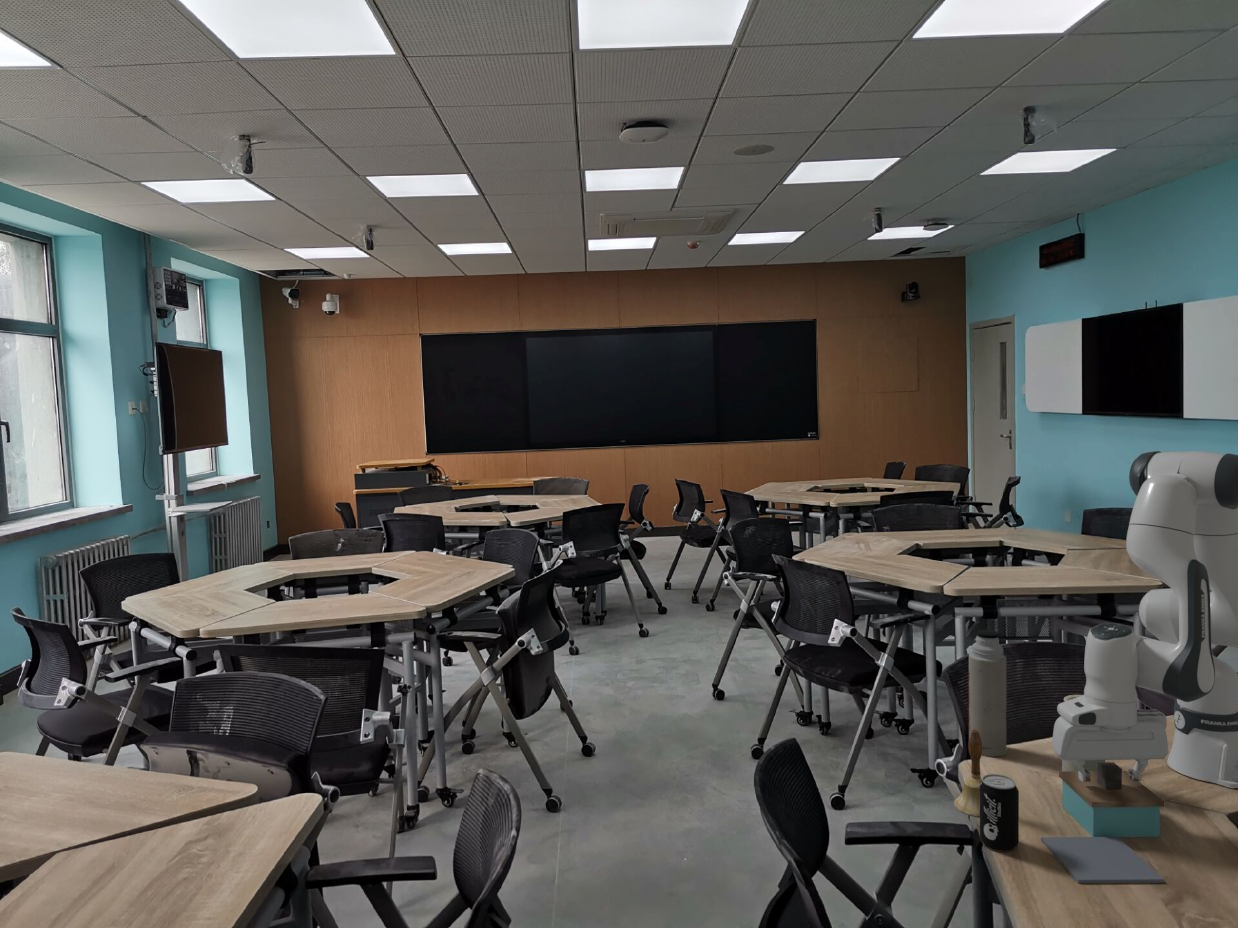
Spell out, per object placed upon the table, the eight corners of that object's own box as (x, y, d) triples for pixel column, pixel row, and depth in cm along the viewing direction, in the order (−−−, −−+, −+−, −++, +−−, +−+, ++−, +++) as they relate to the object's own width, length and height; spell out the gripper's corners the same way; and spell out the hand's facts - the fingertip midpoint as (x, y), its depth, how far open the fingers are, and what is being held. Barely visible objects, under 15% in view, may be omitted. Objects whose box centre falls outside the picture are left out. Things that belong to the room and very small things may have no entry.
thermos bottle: (963, 750, 198) (962, 632, 196) (977, 739, 203) (977, 625, 201) (998, 759, 192) (998, 638, 190) (1011, 748, 197) (1011, 630, 195)
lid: (1125, 775, 169) (1125, 751, 169) (1164, 806, 156) (1164, 780, 156) (1058, 776, 169) (1058, 751, 169) (1092, 807, 157) (1092, 780, 156)
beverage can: (1022, 854, 152) (1022, 789, 152) (983, 851, 154) (983, 787, 153) (1013, 835, 159) (1013, 773, 158) (976, 833, 160) (976, 771, 159)
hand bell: (995, 821, 164) (995, 741, 163) (950, 811, 169) (949, 733, 168) (1001, 803, 171) (1001, 726, 170) (958, 794, 176) (957, 719, 175)
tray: (1118, 839, 156) (1118, 836, 156) (1163, 882, 142) (1163, 879, 142) (1040, 840, 157) (1040, 837, 157) (1078, 882, 143) (1078, 879, 143)
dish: (1123, 805, 169) (1124, 776, 168) (1159, 836, 157) (1159, 805, 156) (1062, 806, 169) (1062, 777, 169) (1093, 837, 157) (1093, 805, 157)
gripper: (1156, 703, 164) (1155, 772, 165) (1048, 704, 165) (1048, 773, 166) (1176, 715, 158) (1175, 786, 159) (1064, 716, 159) (1063, 788, 160)
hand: (1109, 780), depth 163 cm, fingers open, 8 cm apart
